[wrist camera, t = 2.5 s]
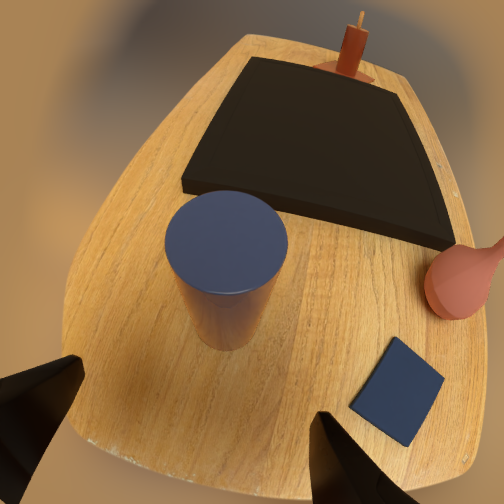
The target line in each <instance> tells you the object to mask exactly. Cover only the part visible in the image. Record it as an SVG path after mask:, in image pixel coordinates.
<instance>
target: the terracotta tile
mask: <svg viewBox="0 0 504 504" xmlns="http://www.w3.org/2000/svg"><path fill="white" fill-rule="evenodd" d="M336 65H337V61H331V62H327V63H322V64H318V65H314V66H313V68H318V69H322V70H326V71H329V72H333V73H337V74H340V75H344V74H342V73H340V72H338V71H337V70H336ZM344 76H347V75H344ZM347 77H350V78H354V79H357V80H360V81H363V82H366V83H371V82H373V81H374V80H375V79H373V78H371V77H369V76H367V75H365V74H363V73H361V72H359V71H357V73H356V76H347Z"/></svg>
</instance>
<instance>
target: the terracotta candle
mask: <svg viewBox="0 0 504 504" xmlns="http://www.w3.org/2000/svg"><path fill="white" fill-rule="evenodd" d="M364 14H365V12H364V11H361V13H360V17H359V20H358V24H357V26H354V25H347V28H346V32H345V36H344V40H343V43H342V47H341V51H340V54H339V58H338V61H337V65H336V70H337V71H338V72H340V73H342V74H344V75H347V76H356V73H357V70H358V67H359V64H360V61H361V57H362V54H363V51H364V48H365V44H366V41H367V38H368V35H369V31H367V30H365V29H362V28H361V25H362V21H363V17H364Z"/></svg>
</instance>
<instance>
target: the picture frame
mask: <svg viewBox="0 0 504 504" xmlns="http://www.w3.org/2000/svg"><path fill="white" fill-rule="evenodd" d="M181 180H182V187H183V193H187V194H193V195H198V196H200V195H202V194H205V193H209V192H214V191H224V190H228V191H238V192H243V193H247V194H250V195H252V196H255V197H257V198H259V199H261V200H262V201H264V202H265V203H267V204H268V205H269V206H270V207H271V208H272V209H273V210H277V211H282V212H287V213H292V214H296V215H301V216H305V217H310V218H314V219H319V220H323V221H327V222H332V223H336V224H340V225H344V226H348V227H352V228H356V229H360V230H364V231H368V232H372V233H376V234H380V235H384V236H388V237H391V238H395V239H399V240H403V241H406V242H410V243H413V244H417V245H421V246H424V247H428V248H431V249H434V250H438V251H441V252H443V251H445V250H447V249H448V248H450V247H452V246H453V245H455V244H456V241H455V237H454V233H453V229H452V226H451V222H450V218H449V215H448V212H447V208H446V205H445V202H444V199H443V196H442V193H441V190H440V187H439V184H438V182H437V179H436V176H435V174H434V171H433V168H432V166H431V163H430V161H429V159H428V156H427V154H426V151H425V149H424V147H423V145H422V142H421V140H420V138H419V136H418V134H417V132H416V130H415V128H414V125H413V123H412V121H411V120H410V118H409V116H408V114H407V112H406V110H405V108H404V106H403V104H402V103H401V101H400V99H399V97H398V95H397V94H395V93H393V92H390V91H388V90H385V89H383V88H380V87H377V86H374V85H372V84H369V83H366V82H363V81H360V80H357V79H354V78H350V77H347V76H344V75H340V74H337V73H333V72H329V71H326V70H322V69H318V68H313V67H309V66H305V65H300V64H295V63H290V62H285V61H279V60H273V59H267V58H260V57H251V58H250V60H249V61H248V63H247V64H246V66H245V67H244V69H243V70H242V72H241V73H240V75H239V76H238V78H237V80H236V81H235V83H234V84H233V86H232V87H231V89H230V91H229V92H228V94H227V95H226V97H225V99H224V100H223V102H222V104H221V105H220V107H219V109H218V110H217V112H216V114H215V116H214V117H213V119H212V121H211V123H210V124H209V126H208V128H207V130H206V131H205V133H204V135H203V137H202V139H201V140H200V142H199V144H198V146H197V148H196V150H195V152H194V153H193V155H192V157H191V159H190V161H189V163H188V165H187V167H186V169H185V171H184V173H183V175H182V177H181Z"/></svg>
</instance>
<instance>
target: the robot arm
mask: <svg viewBox="0 0 504 504" xmlns="http://www.w3.org/2000/svg"><path fill="white" fill-rule="evenodd" d="M84 377H85V371H84V366H83V362H82V359H81V358H80V357H78V356H76V355H73V354H72V355H69V356H66V357H63V358H60V359H58V360H55V361H52V362H49V363H46V364H43V365H40V366H37V367H35V368H32V369H28V370H26V371H22V372H20V373H16V374H14V375H10V376H8V377H5V378H1V379H0V499H1V500H2V501H3V502H4V503H5V504H19V503H20V501H21V499H22V497H23V494H24V492H25V490H26V488H27V486H28V484H29V482H30V480H31V477H32V475H33V473H34V472H35V469H36V468H37V466H38V464H39V462H40V460H41V458H42V456H43V454H44V452H45V450H46V449H47V447H48V445H49V443H50V442H51V440H52V438H53V436H54V434H55V433H56V431H57V429H58V428H59V426H60V424H61V422H62V421H63V419H64V417H65V416H66V414H67V412H68V411H69V409H70V407H71V405H72V403H73V401H74V399H75V397H76V395H77V392H78V390H79V388H80V386H81V384H82V382H83V380H84ZM309 470H310V479H311V489H312V500H313V504H419V503H418V502H417V501H415V500H414V499H413V498H411V497H410V496H409V495H408V494H406V493H405V492H404V491H403V490H402V489H400V488H399V487H398V486H397V485H396V484H395V483H394V482H393V481H392V480H391V479H390V478H389V477H388V476H387V475H386V474H385V473H384V472H383V471H381V469H380V468H379V467H378V466H377V465H376V464H375V463H374V462H373V461H372V459H371V458H370V457H369V456H368V455H367V454H366V453H365V452H364V451H363V450H362V449H361V447H360V446H359V445H358V444H357V443H356V442H355V441H354V440H353V439H352V437H351V436H350V435H349V434H348V433H347V432H346V431H345V430H344V428H343V427H342V426H341V425H340V424H339V423H338V422H337V420H336V419H335V418H334V417H333V416H332V415H331V413H330V412H328V411H318V412H317V413H316V415H315V417H314V419H313V421H312V423H311V425H310V434H309Z"/></svg>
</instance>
